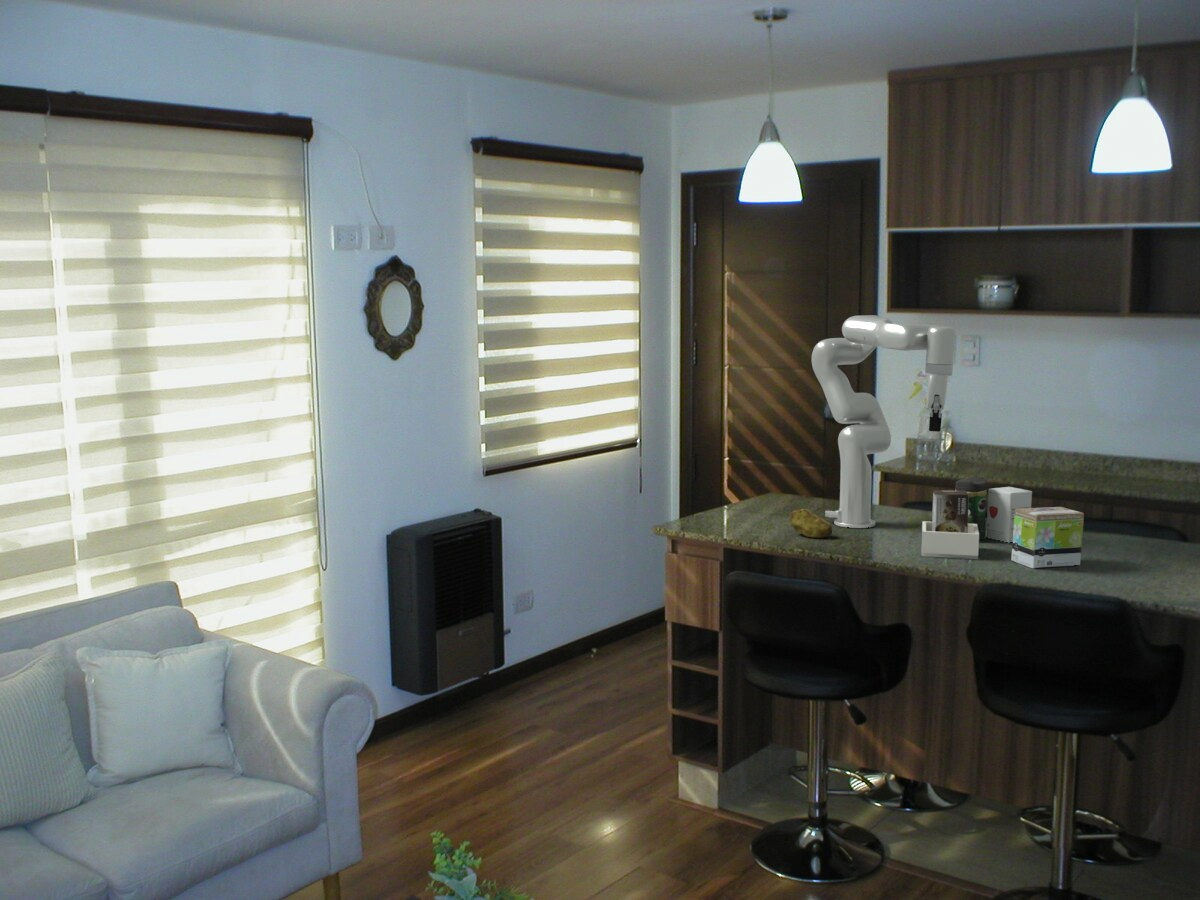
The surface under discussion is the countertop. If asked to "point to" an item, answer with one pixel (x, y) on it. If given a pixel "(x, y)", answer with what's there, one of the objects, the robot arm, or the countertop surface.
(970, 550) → the tote
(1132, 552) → the countertop surface
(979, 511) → the coffee jar
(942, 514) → the coffee box
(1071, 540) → the tea box
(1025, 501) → the supplement box
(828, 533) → the potato
